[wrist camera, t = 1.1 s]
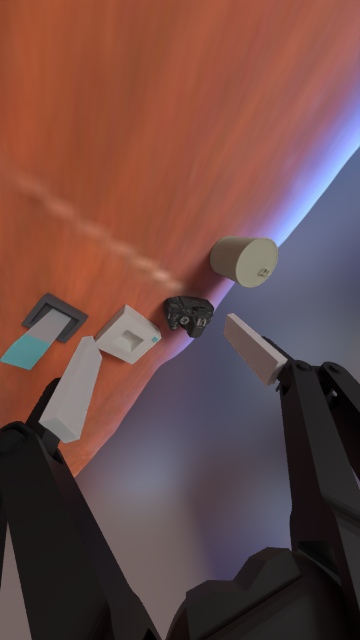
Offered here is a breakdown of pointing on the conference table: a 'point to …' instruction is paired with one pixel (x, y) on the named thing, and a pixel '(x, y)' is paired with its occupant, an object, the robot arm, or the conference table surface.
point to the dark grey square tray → (53, 302)
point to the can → (244, 259)
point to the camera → (188, 314)
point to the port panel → (127, 335)
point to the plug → (36, 340)
